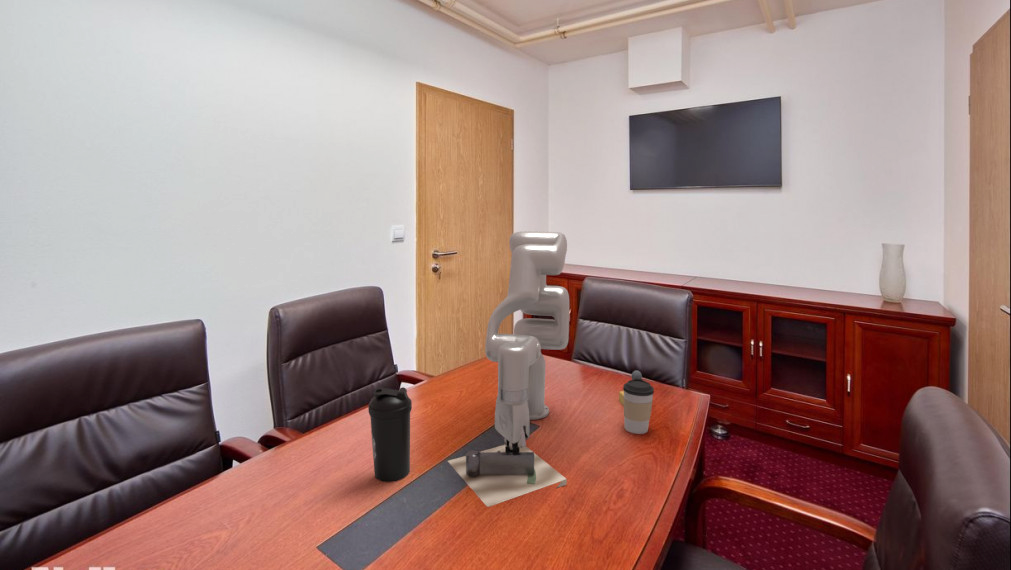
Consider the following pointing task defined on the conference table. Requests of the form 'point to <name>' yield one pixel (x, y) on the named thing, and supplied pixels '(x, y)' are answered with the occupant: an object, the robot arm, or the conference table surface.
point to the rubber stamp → (635, 375)
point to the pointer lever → (499, 463)
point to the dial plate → (508, 479)
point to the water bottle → (390, 433)
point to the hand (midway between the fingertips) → (512, 460)
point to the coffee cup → (637, 405)
